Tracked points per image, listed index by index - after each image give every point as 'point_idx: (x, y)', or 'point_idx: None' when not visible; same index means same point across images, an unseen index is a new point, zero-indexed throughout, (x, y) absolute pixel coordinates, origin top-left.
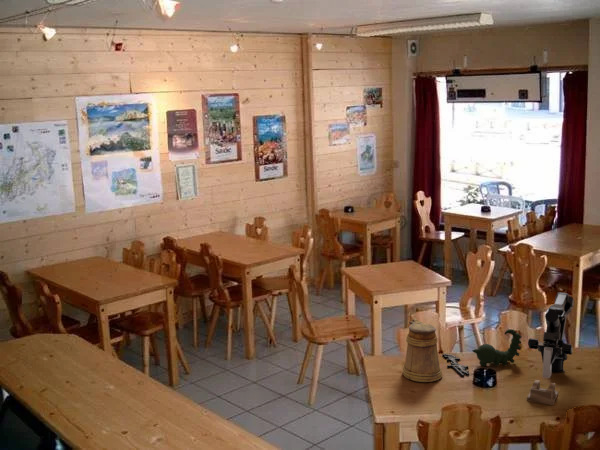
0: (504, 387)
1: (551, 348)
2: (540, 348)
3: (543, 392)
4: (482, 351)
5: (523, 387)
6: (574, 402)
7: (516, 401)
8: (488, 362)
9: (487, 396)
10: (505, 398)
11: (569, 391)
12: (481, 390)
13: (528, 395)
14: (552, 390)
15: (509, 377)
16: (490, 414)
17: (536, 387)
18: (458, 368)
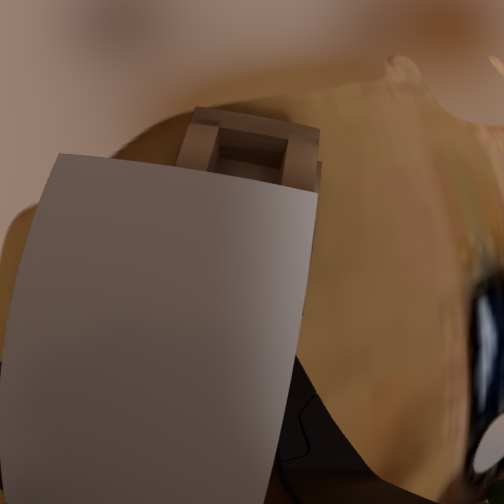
0: (435, 302)
1: (19, 436)
2: (394, 493)
3: (240, 117)
4: None
5: (349, 339)
6: None
7: (361, 153)
8: (501, 488)
9: (465, 184)
10: (408, 175)
11: None
12: (495, 237)
13: (318, 183)
14: (181, 153)
15: (416, 443)
16: (408, 62)
17: (286, 156)
18: None
